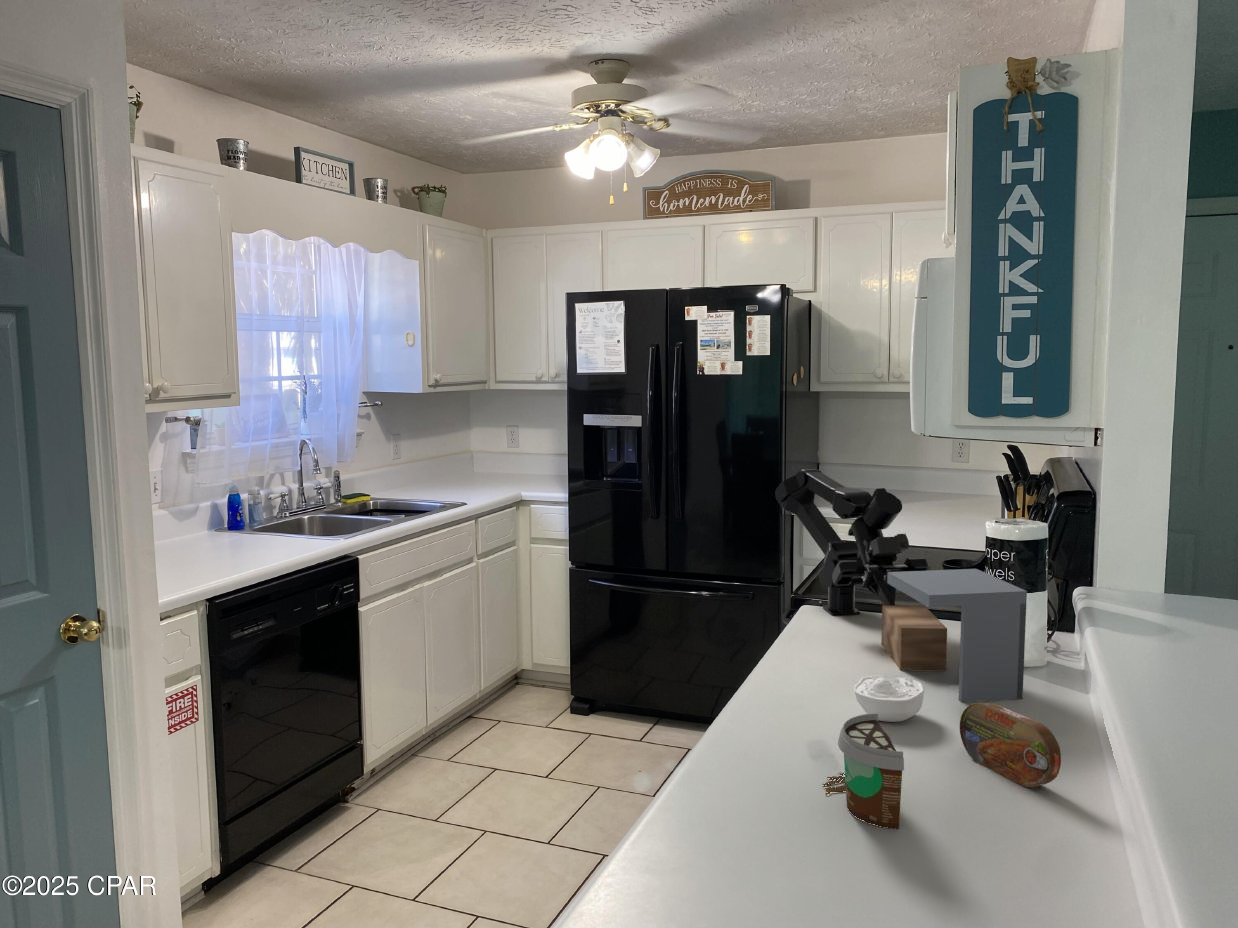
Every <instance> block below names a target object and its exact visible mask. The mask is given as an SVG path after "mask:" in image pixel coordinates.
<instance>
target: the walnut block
mask: <svg viewBox="0 0 1238 928" xmlns="http://www.w3.org/2000/svg"><path fill="white" fill-rule="evenodd" d="M881 606H882V607H881V641H880V642H881V643H880V644H881V646H882V647H883V649H884V650H885V651H886V652H887V655H889V657H890V659H891V660H892V661H893V663H894V664H895V665H896V667H897V668H898V670H900V671H909V672H910V671H914V672H915V671H918V672H919V671H922V672H923V671H925V672H928V671H929V672H932V671H934V672H946V671H947V654H948V653H947V650H948V649H947V646H948V644H947V643H948V627H946V626H945V625H944V624H943V622H941V621H940V619H938V618H937V617H936V616H935V615H934V614H933V613H932V612H931V611H930V609H928V607H927V606H925V605H916V604H915V605H908V604H907V605H902V604H901V605H900V604H899V605H897V604H895V605H885V604H883V605H881Z"/></svg>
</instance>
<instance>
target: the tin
mask: <svg viewBox="0 0 1238 928" xmlns="http://www.w3.org/2000/svg"><path fill="white" fill-rule="evenodd" d="M959 735H960V739H961V742H962V745H963V747H964V749H965V751H966V753H967V754H968V755H969V756H970V757H971V759H972V760H973V761H974V762H976V763H977V764H979V765H981V766H983V767H985V768H986V769H989V770H991V771H993V772H995V773H996V774H999V775H1000V776H1002V777H1004V778H1007V779H1008V780H1011V781H1012V782H1015V783H1016V784H1018V785H1020V786H1023V787H1025V788H1035V787H1036V788H1037V787H1039V786H1043V785H1047V784H1049V783H1052V782H1053V781H1054V780H1056V778H1057V777H1058V775H1059V774H1060V773H1059V772H1060V770H1061V762H1062V760H1061V759H1062V758H1061V757H1062V755H1061V748H1060V745H1059V742H1058V740H1057V739H1056V737H1055V735H1054V733H1052V731H1051V730H1050V728H1048V727H1047V726H1046V725H1045V724H1043V723H1042V722H1039V721H1037V720H1035V719H1033V718H1030V717H1028V716H1026V715H1023V714H1021V713H1018V712H1016V711H1014V710H1011V709H1008V708H1006V707H1003V706H1001V705H999V704H997V703H992V702H983V703H980V702H975V703H972V704H970V705H968V706H967V707H965V708H964V710H963V712H962V713H961V715H960V719H959Z"/></svg>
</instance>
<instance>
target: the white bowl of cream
mask: <svg viewBox="0 0 1238 928" xmlns="http://www.w3.org/2000/svg"><path fill="white" fill-rule="evenodd" d="M853 691H854V695H855V697H856V701H857V703H858V704H859V706H860V707H861V708H862V709H863V710H864V712H865V714H878V722H879V721H881V722H890V723H893V722H894V723H895V722H903V721H906V720H908V719H909V718H912V717H914V716H915V715H916V714H918V713H919V712H920V710H921V709H922V707H923V702H924V694H925V693H924V692H925V687H924V686H923V683H921V682H920V681H918V680H915V679H912V678H911V677H904V676H898V675H894V676H893V675H891V676H890V675H878V674H877V675H870V676H863V677H861V678H860V679H859V681H858V683H856V684H855V685H854V686H853Z"/></svg>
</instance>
